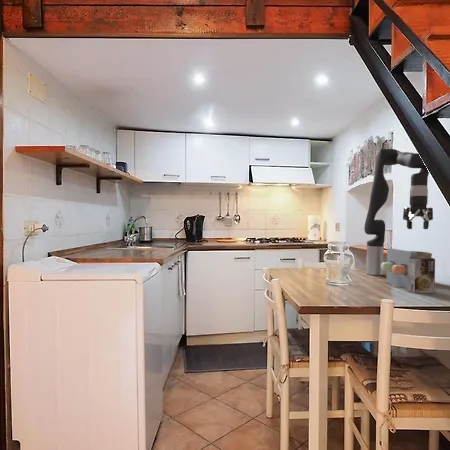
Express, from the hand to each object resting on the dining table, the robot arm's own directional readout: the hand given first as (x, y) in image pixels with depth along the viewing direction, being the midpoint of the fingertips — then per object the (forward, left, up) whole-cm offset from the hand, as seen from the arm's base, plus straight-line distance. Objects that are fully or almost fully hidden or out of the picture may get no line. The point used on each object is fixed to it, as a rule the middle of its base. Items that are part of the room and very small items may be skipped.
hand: (417, 229), depth 168 cm
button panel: (-8, -3, -29) cm, 30 cm away
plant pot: (-19, +13, -29) cm, 37 cm away
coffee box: (+6, -1, -29) cm, 30 cm away
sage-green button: (-13, -6, -22) cm, 27 cm away
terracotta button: (-3, -6, -22) cm, 23 cm away
